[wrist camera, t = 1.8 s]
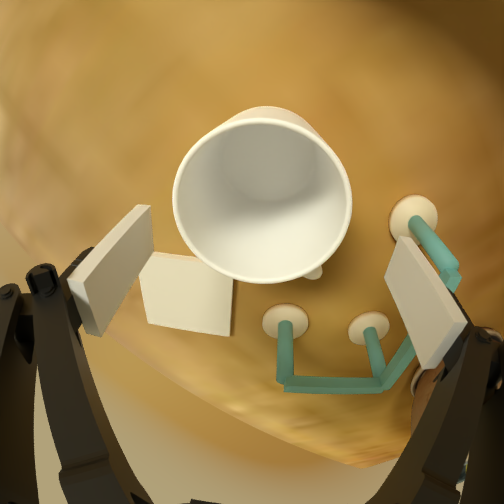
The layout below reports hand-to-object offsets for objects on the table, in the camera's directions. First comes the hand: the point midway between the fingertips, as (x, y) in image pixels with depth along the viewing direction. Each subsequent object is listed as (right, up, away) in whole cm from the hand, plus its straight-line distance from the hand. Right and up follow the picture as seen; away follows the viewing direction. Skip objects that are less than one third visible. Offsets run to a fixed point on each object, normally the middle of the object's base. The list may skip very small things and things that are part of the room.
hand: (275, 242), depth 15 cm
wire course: (+8, -3, +13) cm, 16 cm away
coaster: (-8, -5, +16) cm, 19 cm away
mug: (+1, +6, +9) cm, 11 cm away
